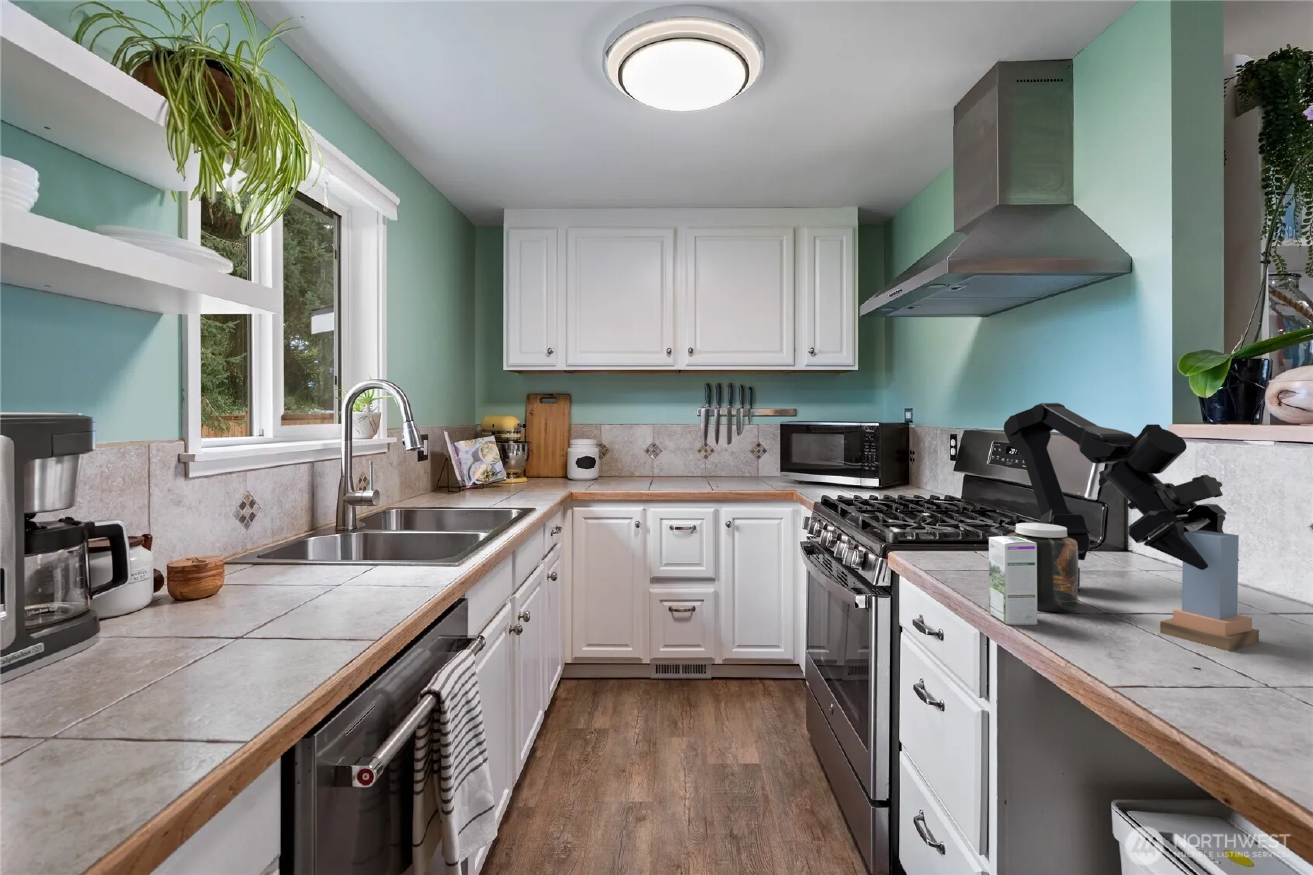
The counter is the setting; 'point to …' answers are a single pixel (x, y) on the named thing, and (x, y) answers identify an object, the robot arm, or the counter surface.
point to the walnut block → (1209, 636)
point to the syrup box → (1013, 580)
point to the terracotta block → (1213, 623)
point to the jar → (1053, 565)
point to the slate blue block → (1212, 576)
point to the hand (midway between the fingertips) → (1221, 565)
